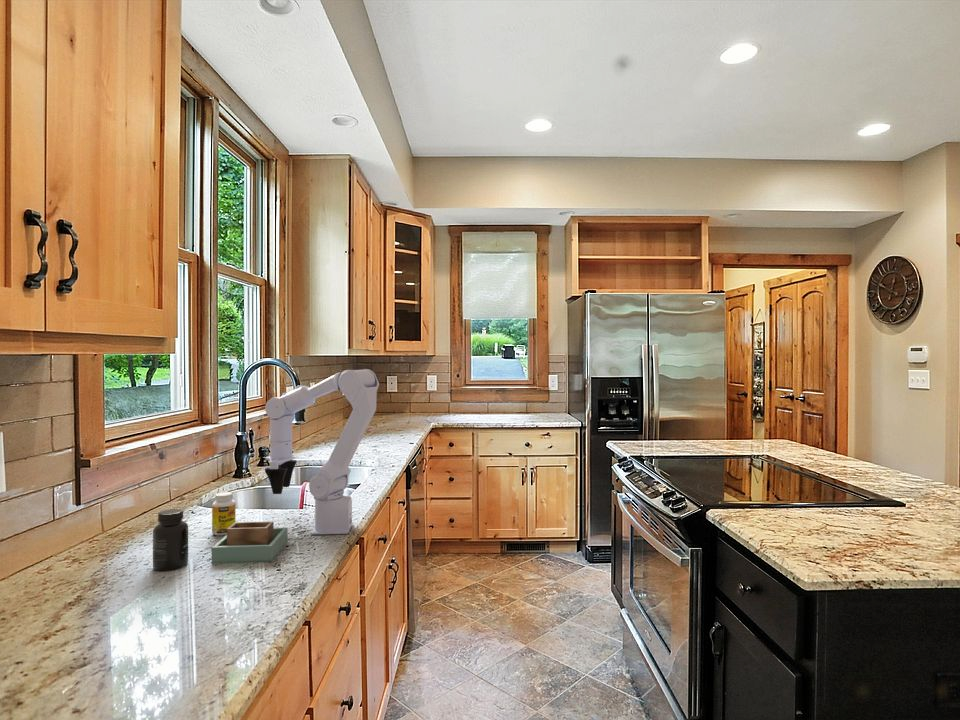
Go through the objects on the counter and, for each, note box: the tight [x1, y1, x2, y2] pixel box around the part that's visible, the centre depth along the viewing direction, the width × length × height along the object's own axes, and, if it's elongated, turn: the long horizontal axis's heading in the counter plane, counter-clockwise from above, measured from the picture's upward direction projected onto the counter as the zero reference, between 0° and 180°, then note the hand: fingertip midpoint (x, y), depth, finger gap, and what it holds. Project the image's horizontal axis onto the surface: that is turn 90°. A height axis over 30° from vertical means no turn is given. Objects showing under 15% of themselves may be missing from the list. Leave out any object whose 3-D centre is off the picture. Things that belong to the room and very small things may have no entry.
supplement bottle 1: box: [152, 508, 189, 572], centre depth 119 cm, size 7×7×12 cm
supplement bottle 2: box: [211, 491, 237, 537], centre depth 141 cm, size 6×6×10 cm
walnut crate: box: [227, 521, 275, 546], centre depth 127 cm, size 9×5×6 cm, turn 95°
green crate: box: [211, 527, 289, 565], centre depth 127 cm, size 13×13×4 cm
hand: (281, 490), depth 148 cm, fingers open, 7 cm apart
